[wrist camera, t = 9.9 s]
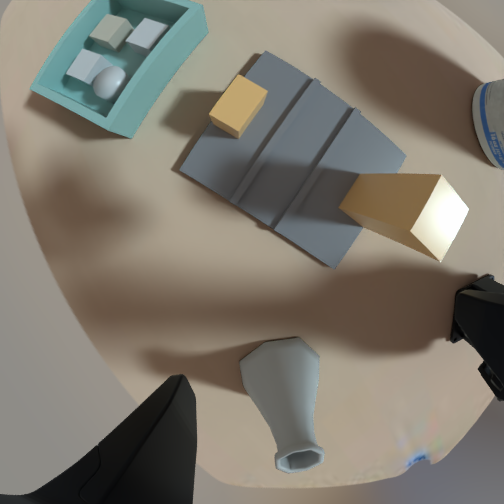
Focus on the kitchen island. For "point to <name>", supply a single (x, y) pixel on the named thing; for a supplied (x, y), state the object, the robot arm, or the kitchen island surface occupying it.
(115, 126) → the tub
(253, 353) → the flask
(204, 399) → the kitchen island surface
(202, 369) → the kitchen island surface
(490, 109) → the supplement tub
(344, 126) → the gray board with blocks
